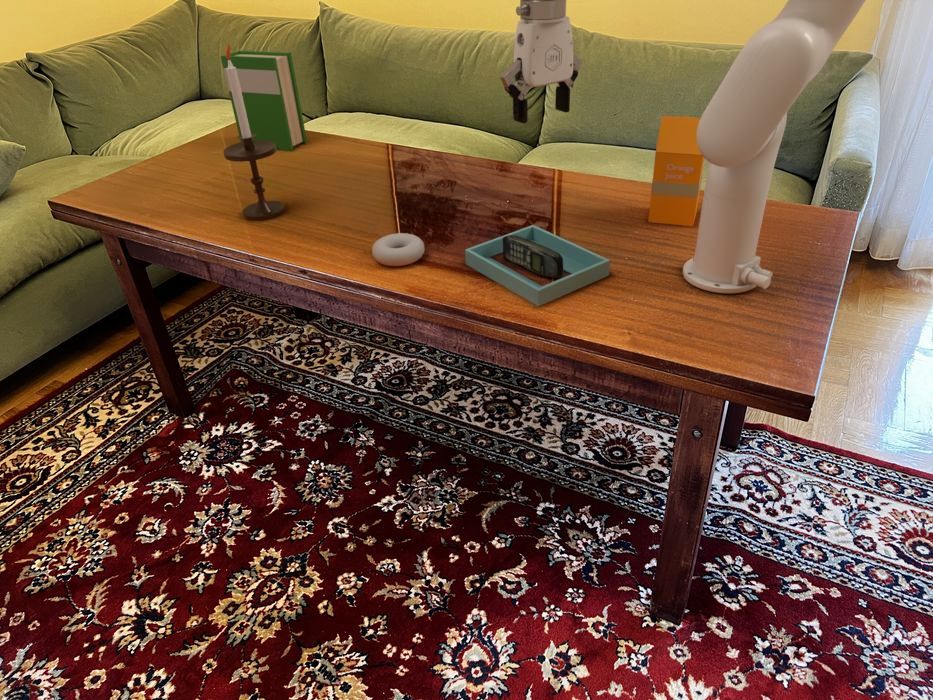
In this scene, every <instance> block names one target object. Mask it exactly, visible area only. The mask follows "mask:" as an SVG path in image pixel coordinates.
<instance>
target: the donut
mask: <svg viewBox="0 0 933 700" xmlns="http://www.w3.org/2000/svg"><path fill="white" fill-rule="evenodd" d="M425 249H426V248H425V243H424V241H423V240H422V239H421V238H420V237H419V236H417V235H415V234H411V233H405V232H397V233H391V234H387V235H385V236H381V237H380V238H379V239H377V240H375V242H374V244H373V245H372V249H371V254H372V257H373V258H374V259H375V261H376V262H378V263H379V264H380V265H381V264H382V265H384V266H387V267H403V266H408V265H411V264H413V263H416V262H417V261H419V260H420V259H421V258H422V257H423V255H424V253H425Z"/></svg>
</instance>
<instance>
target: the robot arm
mask: <svg viewBox="0 0 933 700" xmlns="http://www.w3.org/2000/svg"><path fill="white" fill-rule="evenodd" d="M866 1H867V0H787V1H786V4H784V6H783V8H782V9H781V10H780V12H779V13H778V14H777V16H776V17H774V19H773V20H771V21H770V22H768V23H766V24H765V25H764V26H762V27H760V28H759V29H758V30H757V31H756V32H755V33H754V34H753V35H752V36H751V37H750V38H749V39H748V40H747V42H746V43H745V44H744V46H743V47H742V49H741V50H740V51H739V53H738V55H737V56H736V58H735V59H734V61H733V63H732V65H731V66H730V68H729V70H728V71H727V73H726V75H725V77H724V78H723V80H722V81H721V83H720V84H719V86H718V87H717V90H716V91H715V93H714V94H713V96H712V97H711V99H710V101H709V103H708V104H707V106H706V108H705V110H703V113H702V115H701V116H700V118H701V119H700V121H699V124H698V128H697V144H698V148H699V150H700V152H701V154H702V155H703V157H704V158H705V160H706V161H707V162H708V163H709V164H708V169H707V174H706V179H705V185H704V191H703V197H702V203H701V210H700V211H701V212H700V217H699V224H698V231H697V235H696V237H697V238H696V243H695V250H694V255H693V257H692V258H690V259H688V260H687V261H686V262H685V263H684V264H683V267H682V276H683V278H684V279H685V280H686V281H687V282H688V283H689V284H691V286H694V287H696V288H698V289H701V290H703V291H707V292H712V293H717V294H740V293H746V292H748V291H751V290H753V289H754V288H756V287H758V288H762V289H764V290H766V289H768V288H769V286H770V285H771V283H772V277H773V274H774V273H773V271H770V270H768V269H764V268H762V267H761V266H760V263H761V260H762V257H761V256H758V255H756V253H757V249H758V248H757V247H758V243H759V239H760V234H761V230H762V224H763V219H764V215H765V211H766V204H767V199H768V195H769V192H770V187H771V182H772V178H773V173H774V170H775V166H776V161H777V157H778V154H779V152H780V151H779V150H780V147H781V144H782V140H783V136H784V133H785V129H786V125H787V119H788V118H787V117H788V112H789V110H790V109H791V108H792V106H793V105H794V104H795V102H796V101H797V99H798V97H799V96H800V94H801V93H802V92H803V90H804V89H805V88H806V87H807V85H808V84H809V83H810V82H811V81H812V80H813V79H814V78H815V77H816V76H817V75H818V74H819V73H820V72H821V70H822V69H823V67H824V66H825V65H826V63H827V61H828V59H829V57H830V56H831V54H832V52H833V50H834V49H835V47H836V46H837V44H838V43H839V41H840V39H842V37H843V35H844V34H845V33H846V31H847V30H848V28H849V27H850V25H851V23H852V22H853V21H854V20H855V18H856V16H857V15H858V14H859V12H860V10H861V9H862V7H863V5H864V4H865V2H866ZM515 13H516V15H517V16H519V17H520V18H519V19H520V20H518V21H517V24H516V31H515V36H514V37H515V38H514V45H513V46H514V48H513V63H511V65H509V66H508V67H507V68H506V69H505V70H504V71H503V72H502V73H500V75H499V78H500V80H501V83H502V85H503V87H504V88H503V89H504V90H505V92H507V94H508V95H509V97H510V98H511V99H512V116H513V121H515V122H518V123H520V124H527V123H528V121H529V120H528V118H529V117H528V115H529V114H528V106H529V105H528V99H526V96H527V94H528V93H529V91H530V89H531V87H532V88H539V87H540V88H541V87H544V86H548V85H553V84H557V85H558V86H556V87H555V100H554V101H555V106H554V108H555V111H560V112H563V113H569V112H570V109H571V89H573V88H574V86H575V85H574V82H575V81H576V79H577V78H578V77H579V72H580V69H581V66H582V64H583V59H582V58H581V57H579V56H577V55H576V54H574V43H573V41H574V39H573V31H572V24H571V19H570V17H569V16H567V0H519V6H516V8H515ZM513 78H514V81H513Z"/></svg>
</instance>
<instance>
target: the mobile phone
mask: <svg viewBox="0 0 933 700" xmlns="http://www.w3.org/2000/svg"><path fill="white" fill-rule="evenodd" d="M502 258H503V259H504V260H506V261H508V262H510V263H513V264H514V265H516V266H520V267H522V268H524V269H526V270H529V271H531V272H532V273H534V274H536V275H538V276H540V277H541V276H542V277H544V278H551V279H555V278H556V279H557V278H559V279H561V278H564V277H566V276H567V275H565V274H564V271H563V258H562V256H561V255H560V254H559V253H558V252H556V251H554V250H552V249H550V248H548V247H546V246H543V245H540V244H538V243H535V242H533V241H530V240H528V239H525V238H522V237H519V236H515V235H508V236H505V237H503V252H502Z"/></svg>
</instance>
